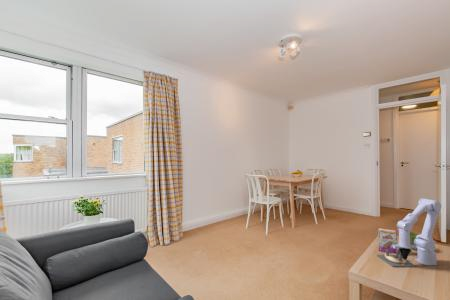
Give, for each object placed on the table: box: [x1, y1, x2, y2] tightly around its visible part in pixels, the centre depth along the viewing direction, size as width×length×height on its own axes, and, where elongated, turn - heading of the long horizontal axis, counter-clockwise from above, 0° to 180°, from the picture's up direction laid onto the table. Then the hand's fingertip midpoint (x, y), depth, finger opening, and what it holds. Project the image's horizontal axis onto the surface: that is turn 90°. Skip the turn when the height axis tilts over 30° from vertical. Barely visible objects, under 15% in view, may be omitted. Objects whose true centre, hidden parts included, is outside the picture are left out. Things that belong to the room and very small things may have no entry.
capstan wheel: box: [384, 248, 406, 264], centre depth 149 cm, size 12×12×6 cm
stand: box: [376, 254, 416, 268], centre depth 149 cm, size 15×15×1 cm
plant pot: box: [409, 231, 421, 251], centre depth 168 cm, size 12×12×11 cm
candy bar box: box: [377, 227, 398, 254], centre depth 163 cm, size 11×5×16 cm, turn 58°
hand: (404, 258), depth 145 cm, fingers closed
